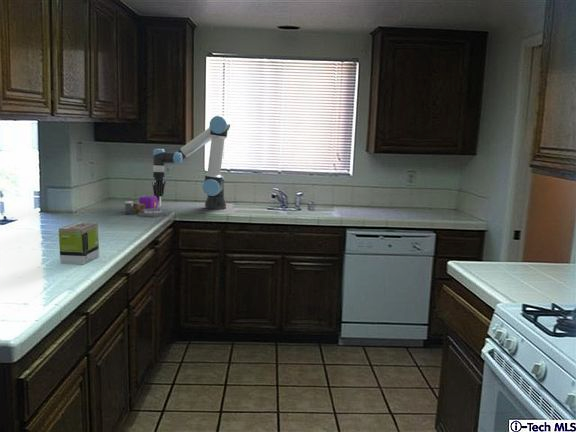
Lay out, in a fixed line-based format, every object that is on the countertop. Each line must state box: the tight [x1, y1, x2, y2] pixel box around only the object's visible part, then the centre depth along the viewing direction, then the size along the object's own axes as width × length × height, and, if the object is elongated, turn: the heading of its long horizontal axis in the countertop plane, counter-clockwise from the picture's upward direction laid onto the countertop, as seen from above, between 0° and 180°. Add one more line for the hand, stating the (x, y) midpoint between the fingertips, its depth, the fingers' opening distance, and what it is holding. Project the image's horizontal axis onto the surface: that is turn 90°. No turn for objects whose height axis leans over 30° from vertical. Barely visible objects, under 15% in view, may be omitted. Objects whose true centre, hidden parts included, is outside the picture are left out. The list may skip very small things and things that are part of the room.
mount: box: [137, 208, 166, 218], centre depth 345 cm, size 12×12×4 cm
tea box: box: [58, 222, 100, 266], centre depth 223 cm, size 15×10×15 cm, turn 175°
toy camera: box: [138, 195, 159, 209], centre depth 365 cm, size 11×14×10 cm
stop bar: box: [133, 202, 145, 214], centre depth 352 cm, size 13×2×6 cm, turn 67°
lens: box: [124, 200, 134, 216], centre depth 345 cm, size 5×5×8 cm
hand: (158, 205), depth 375 cm, fingers closed
